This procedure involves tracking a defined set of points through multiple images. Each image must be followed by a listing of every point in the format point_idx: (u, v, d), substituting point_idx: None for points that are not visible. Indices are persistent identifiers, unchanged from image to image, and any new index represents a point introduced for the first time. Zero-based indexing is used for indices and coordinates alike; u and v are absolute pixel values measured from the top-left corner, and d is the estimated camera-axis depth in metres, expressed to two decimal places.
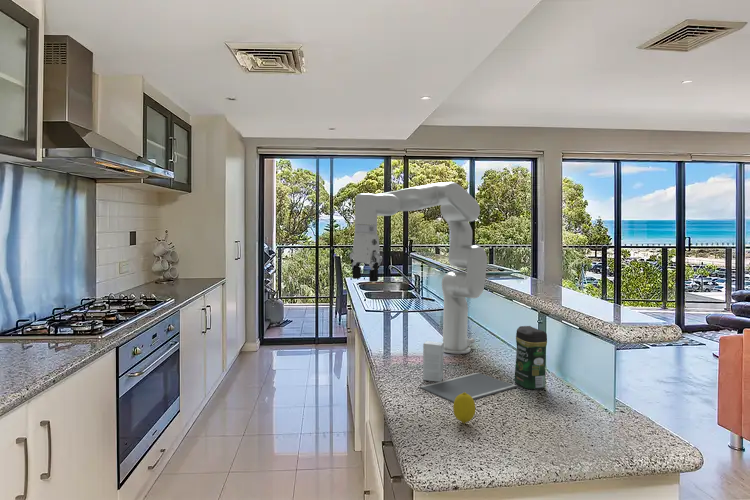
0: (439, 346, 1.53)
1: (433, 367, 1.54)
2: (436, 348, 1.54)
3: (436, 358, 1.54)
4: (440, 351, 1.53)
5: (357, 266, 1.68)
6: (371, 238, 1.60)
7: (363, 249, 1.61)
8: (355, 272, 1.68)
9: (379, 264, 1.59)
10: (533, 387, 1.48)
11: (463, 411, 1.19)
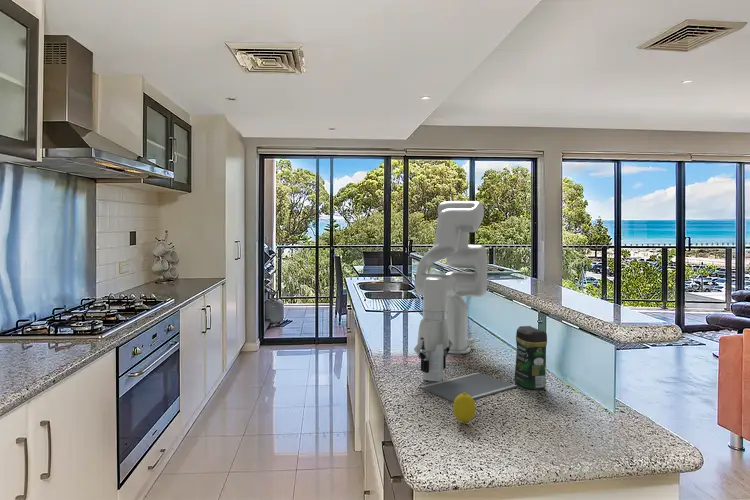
0: (439, 346, 1.53)
1: (433, 367, 1.54)
2: (436, 348, 1.54)
3: (436, 358, 1.54)
4: (440, 351, 1.53)
5: None
6: None
7: (443, 335, 1.55)
8: None
9: None
10: (533, 387, 1.48)
11: (463, 411, 1.19)
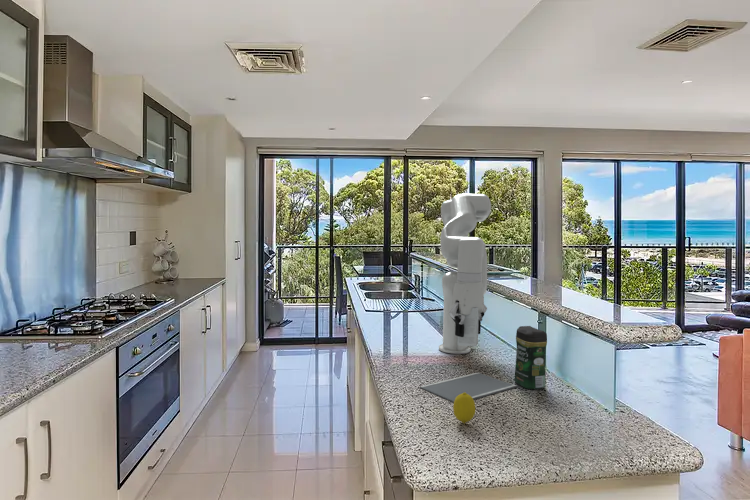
0: (475, 309, 1.47)
1: (468, 331, 1.48)
2: (471, 311, 1.48)
3: (471, 322, 1.48)
4: (476, 314, 1.47)
5: None
6: None
7: (479, 299, 1.49)
8: None
9: None
10: (533, 387, 1.48)
11: (463, 411, 1.19)
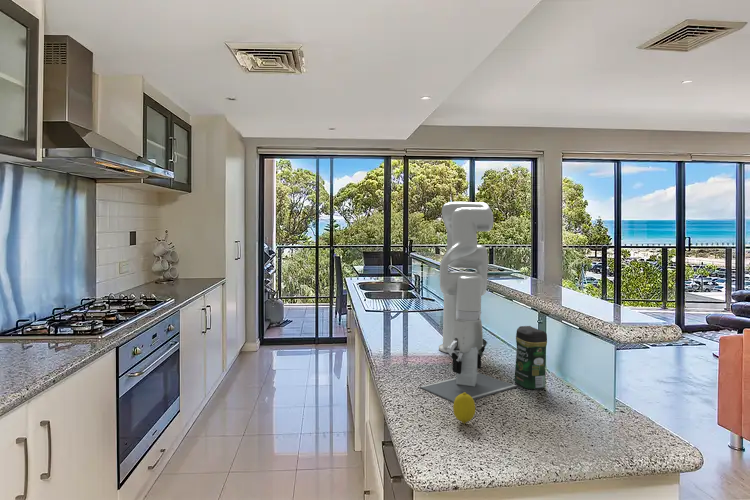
0: (474, 350, 1.48)
1: (467, 371, 1.49)
2: (470, 352, 1.48)
3: (470, 362, 1.49)
4: (475, 355, 1.48)
5: None
6: None
7: (478, 336, 1.50)
8: None
9: None
10: (533, 387, 1.48)
11: (463, 411, 1.19)
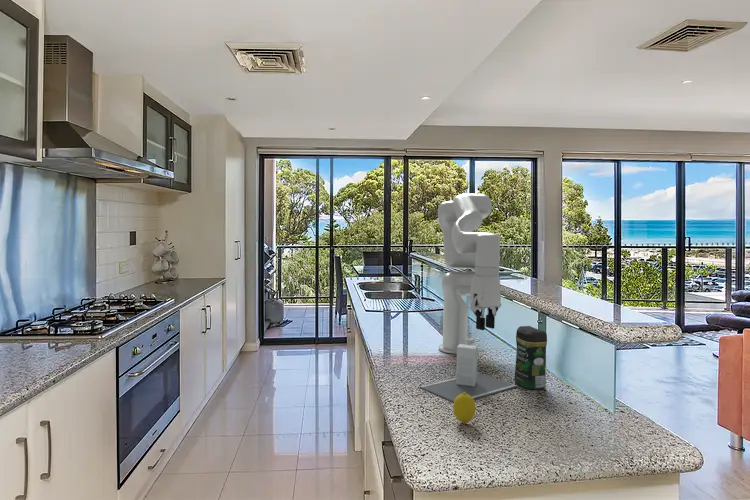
0: (473, 349, 1.48)
1: (467, 371, 1.49)
2: (470, 351, 1.49)
3: (470, 362, 1.49)
4: (474, 355, 1.48)
5: None
6: None
7: (496, 292, 1.54)
8: None
9: None
10: (533, 387, 1.48)
11: (463, 411, 1.19)
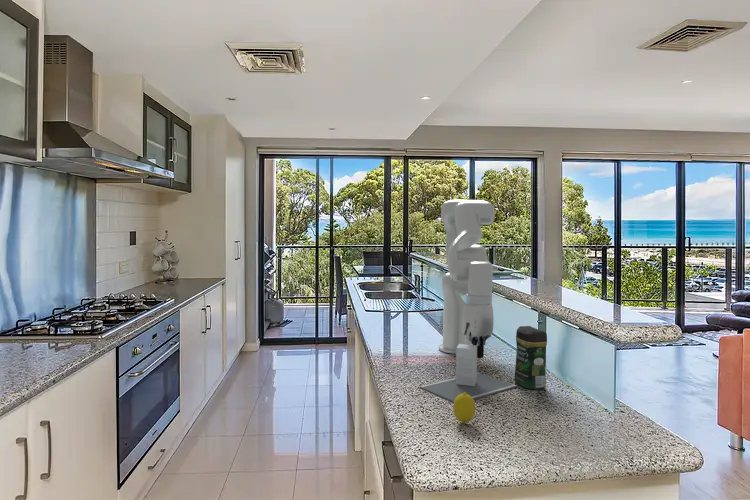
0: (473, 350, 1.47)
1: (467, 372, 1.49)
2: (469, 352, 1.48)
3: (470, 362, 1.48)
4: (474, 355, 1.47)
5: None
6: None
7: (489, 321, 1.52)
8: None
9: None
10: (533, 387, 1.48)
11: (463, 411, 1.19)
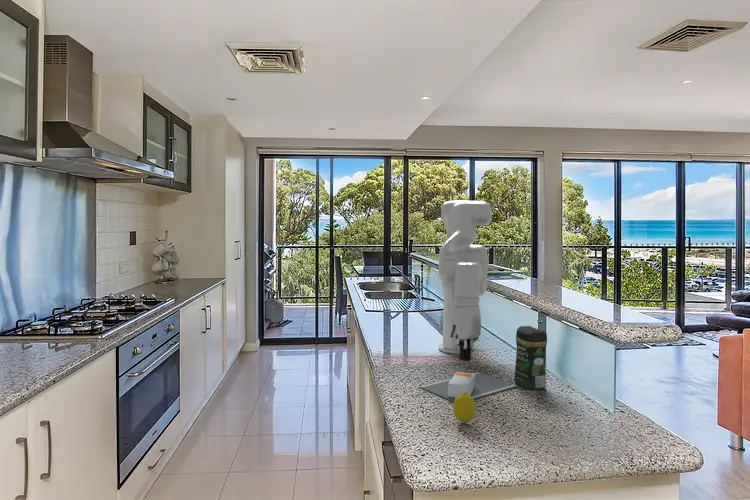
0: None
1: None
2: None
3: None
4: None
5: None
6: None
7: (476, 323, 1.49)
8: None
9: None
10: (533, 387, 1.48)
11: (463, 411, 1.19)
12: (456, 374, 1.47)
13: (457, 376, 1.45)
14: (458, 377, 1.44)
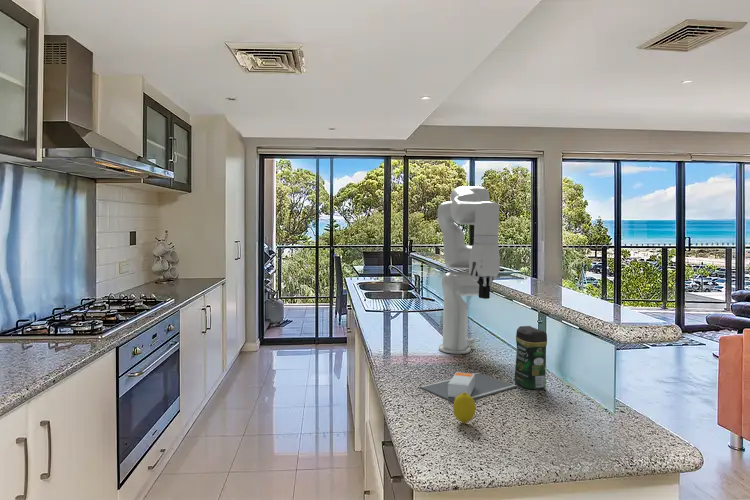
0: None
1: None
2: None
3: None
4: None
5: None
6: None
7: (495, 261, 1.53)
8: None
9: None
10: (533, 387, 1.48)
11: (463, 411, 1.19)
12: (456, 374, 1.47)
13: (457, 376, 1.45)
14: (458, 377, 1.44)
